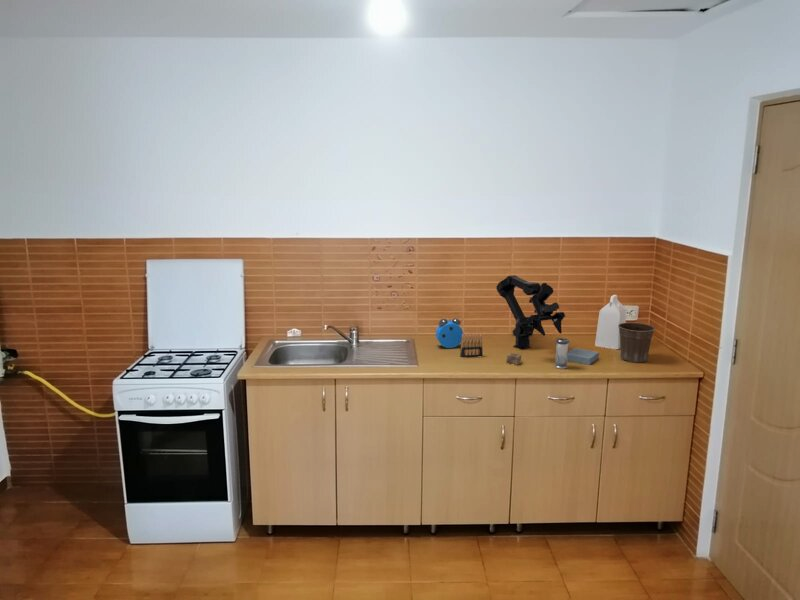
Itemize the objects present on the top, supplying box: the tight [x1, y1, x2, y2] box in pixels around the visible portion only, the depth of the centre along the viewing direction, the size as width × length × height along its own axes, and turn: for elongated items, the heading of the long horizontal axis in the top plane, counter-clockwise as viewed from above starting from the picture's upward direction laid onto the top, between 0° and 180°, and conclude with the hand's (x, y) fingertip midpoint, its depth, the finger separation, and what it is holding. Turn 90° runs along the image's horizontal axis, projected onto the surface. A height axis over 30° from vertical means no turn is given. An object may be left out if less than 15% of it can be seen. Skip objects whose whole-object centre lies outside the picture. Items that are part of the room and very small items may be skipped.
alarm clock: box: [435, 317, 464, 349], centre depth 305 cm, size 13×6×15 cm, turn 100°
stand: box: [567, 347, 600, 366], centre depth 288 cm, size 12×12×3 cm
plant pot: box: [618, 322, 656, 363], centre depth 287 cm, size 16×16×16 cm
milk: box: [594, 294, 627, 350], centre depth 308 cm, size 12×12×26 cm
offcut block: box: [506, 352, 522, 366], centre depth 282 cm, size 5×5×4 cm
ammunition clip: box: [459, 332, 483, 358], centre depth 291 cm, size 11×2×12 cm, turn 98°
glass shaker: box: [553, 337, 570, 370], centre depth 276 cm, size 6×6×13 cm
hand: (552, 334), depth 282 cm, fingers open, 9 cm apart
